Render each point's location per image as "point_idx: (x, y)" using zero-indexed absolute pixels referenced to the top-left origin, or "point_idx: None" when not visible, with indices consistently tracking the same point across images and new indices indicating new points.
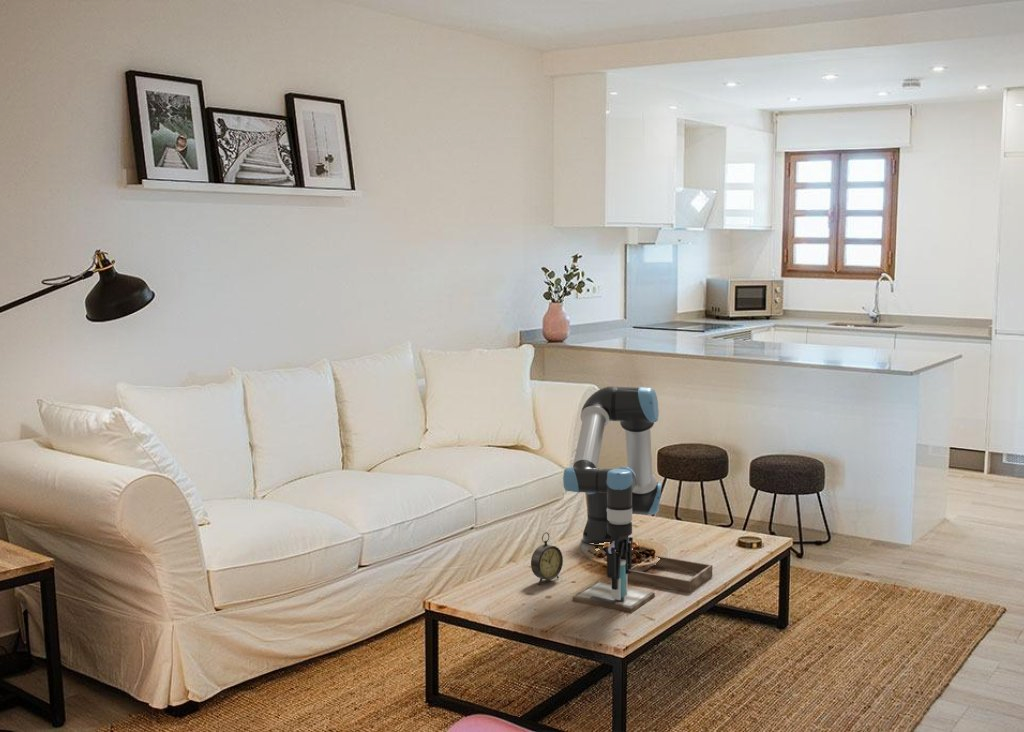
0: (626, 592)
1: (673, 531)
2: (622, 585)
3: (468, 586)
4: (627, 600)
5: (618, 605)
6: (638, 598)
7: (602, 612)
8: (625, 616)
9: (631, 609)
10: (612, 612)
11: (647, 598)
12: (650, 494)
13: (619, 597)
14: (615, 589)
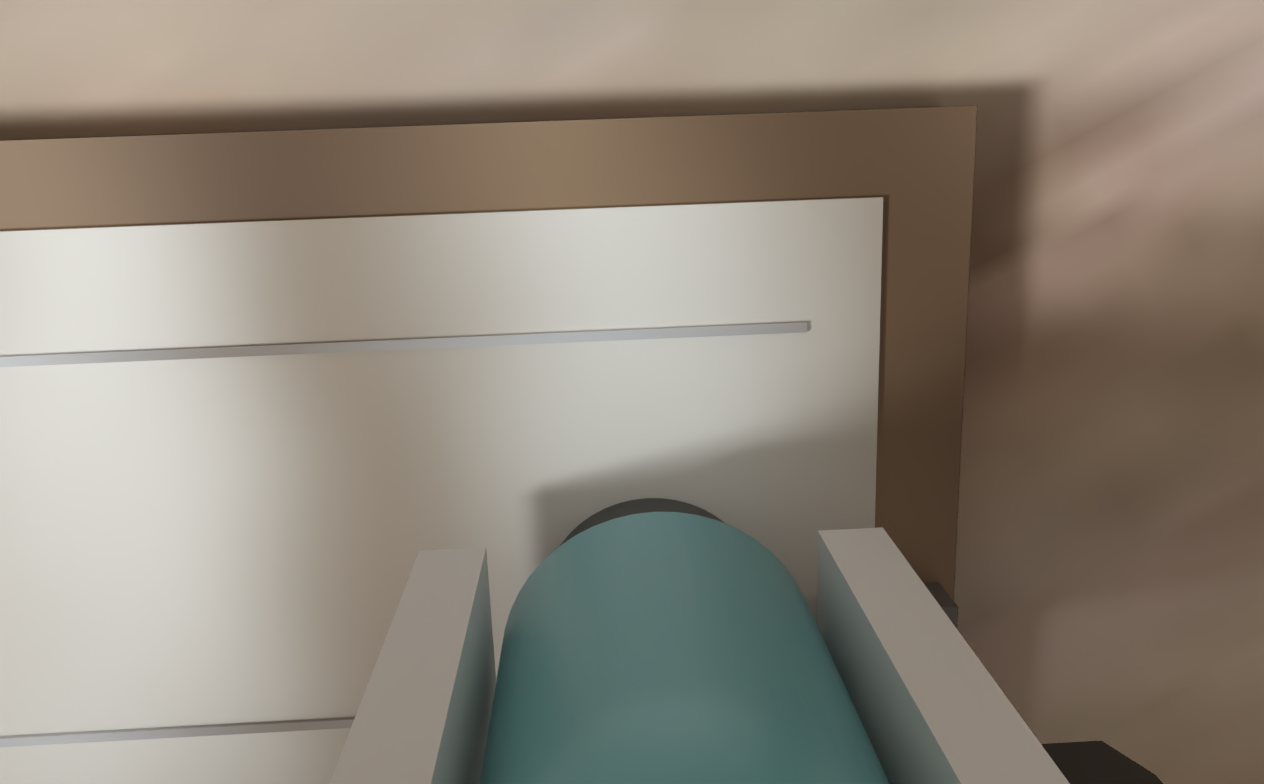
0: (471, 582)
1: None
2: (811, 721)
3: None
4: (544, 451)
5: (935, 470)
6: (254, 295)
7: (1209, 617)
8: (1223, 106)
9: (966, 106)
10: (1122, 458)
11: (31, 141)
12: None
13: (903, 556)
14: (1104, 766)
